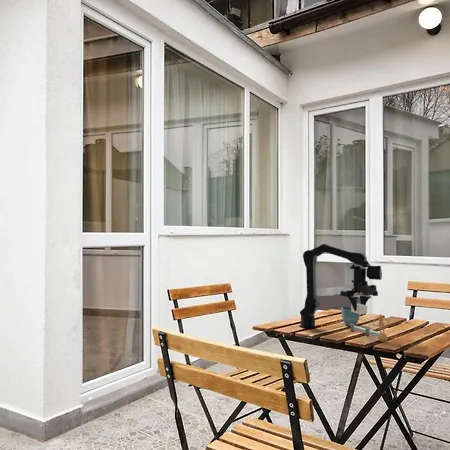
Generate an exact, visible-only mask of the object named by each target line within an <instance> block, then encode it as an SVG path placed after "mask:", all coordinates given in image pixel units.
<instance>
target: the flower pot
mask: <svg viewBox="0 0 450 450" xmlns="http://www.w3.org/2000/svg"><path fill="white" fill-rule="evenodd" d="M340 309H341V312H340V313H341V319H342V321H343V323H344V325H345V326H350V324H354V326H357V324H358V322H359V319H360V315H361V314H358V313H354V312H351V306H349V307H348V306H341V307H340Z"/></svg>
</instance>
